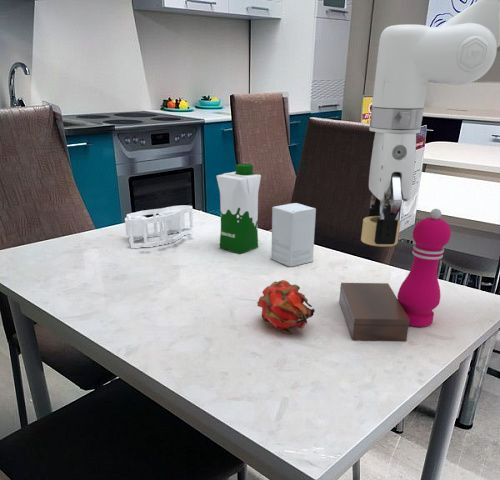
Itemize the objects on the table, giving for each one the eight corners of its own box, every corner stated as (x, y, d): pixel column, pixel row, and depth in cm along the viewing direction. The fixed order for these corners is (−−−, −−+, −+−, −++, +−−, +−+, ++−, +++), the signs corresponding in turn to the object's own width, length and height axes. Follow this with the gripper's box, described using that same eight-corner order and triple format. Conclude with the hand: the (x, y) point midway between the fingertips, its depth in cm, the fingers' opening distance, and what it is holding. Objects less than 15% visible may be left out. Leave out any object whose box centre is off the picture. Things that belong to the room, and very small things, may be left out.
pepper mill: (406, 307, 96) (427, 201, 87) (442, 320, 91) (467, 210, 82) (385, 318, 91) (405, 207, 82) (422, 332, 87) (447, 216, 78)
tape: (392, 236, 87) (395, 215, 85) (401, 247, 82) (404, 225, 80) (358, 235, 87) (360, 215, 86) (364, 246, 82) (367, 224, 80)
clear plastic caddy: (184, 228, 144) (182, 202, 140) (204, 237, 136) (203, 210, 132) (117, 239, 133) (114, 212, 130) (134, 250, 125) (131, 221, 122)
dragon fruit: (268, 317, 95) (302, 353, 87) (237, 301, 89) (271, 338, 81) (295, 281, 93) (333, 314, 85) (266, 262, 88) (303, 296, 79)
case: (387, 302, 98) (389, 283, 96) (408, 341, 84) (412, 319, 82) (338, 301, 98) (340, 282, 97) (351, 340, 84) (354, 318, 82)
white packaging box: (313, 261, 119) (317, 208, 113) (289, 267, 115) (291, 212, 109) (294, 253, 124) (296, 201, 119) (269, 258, 121) (271, 205, 115)
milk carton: (263, 247, 129) (265, 165, 119) (239, 255, 122) (239, 170, 113) (237, 240, 134) (237, 161, 124) (213, 248, 127) (211, 166, 118)
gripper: (438, 126, 68) (416, 254, 77) (406, 117, 84) (390, 224, 92) (382, 125, 68) (366, 253, 77) (360, 116, 84) (349, 223, 92)
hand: (380, 236), depth 84 cm, fingers closed on tape, 6 cm apart
